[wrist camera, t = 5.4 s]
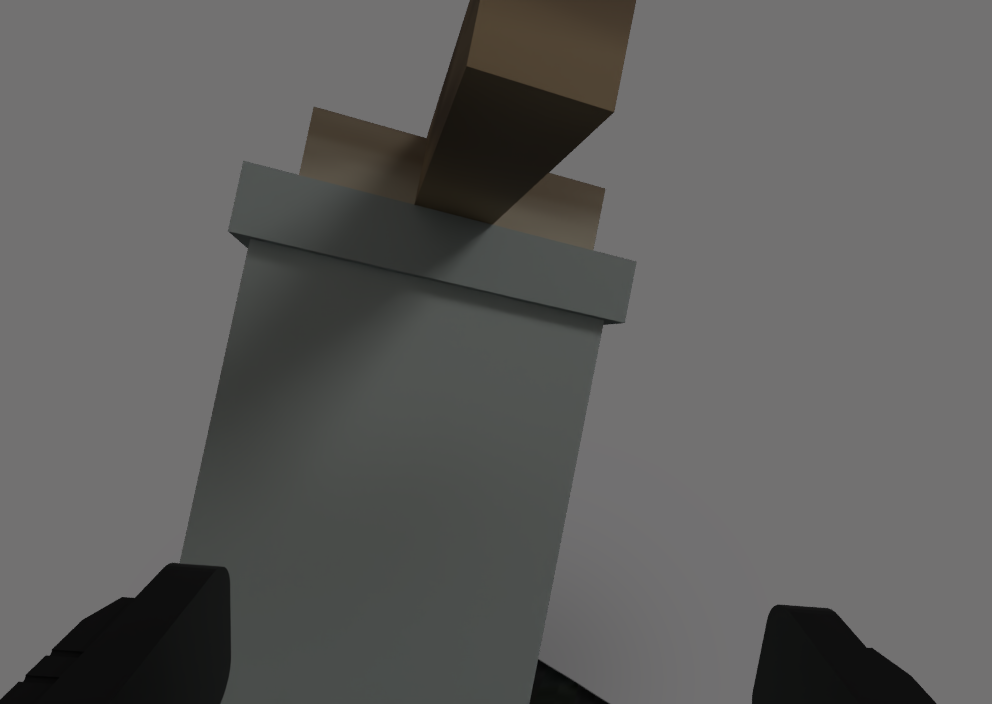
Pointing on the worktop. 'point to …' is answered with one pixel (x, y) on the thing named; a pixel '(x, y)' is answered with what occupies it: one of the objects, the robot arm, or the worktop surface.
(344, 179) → the paddle
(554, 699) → the worktop surface
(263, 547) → the tall grey lidded box
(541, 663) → the worktop surface
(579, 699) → the worktop surface
